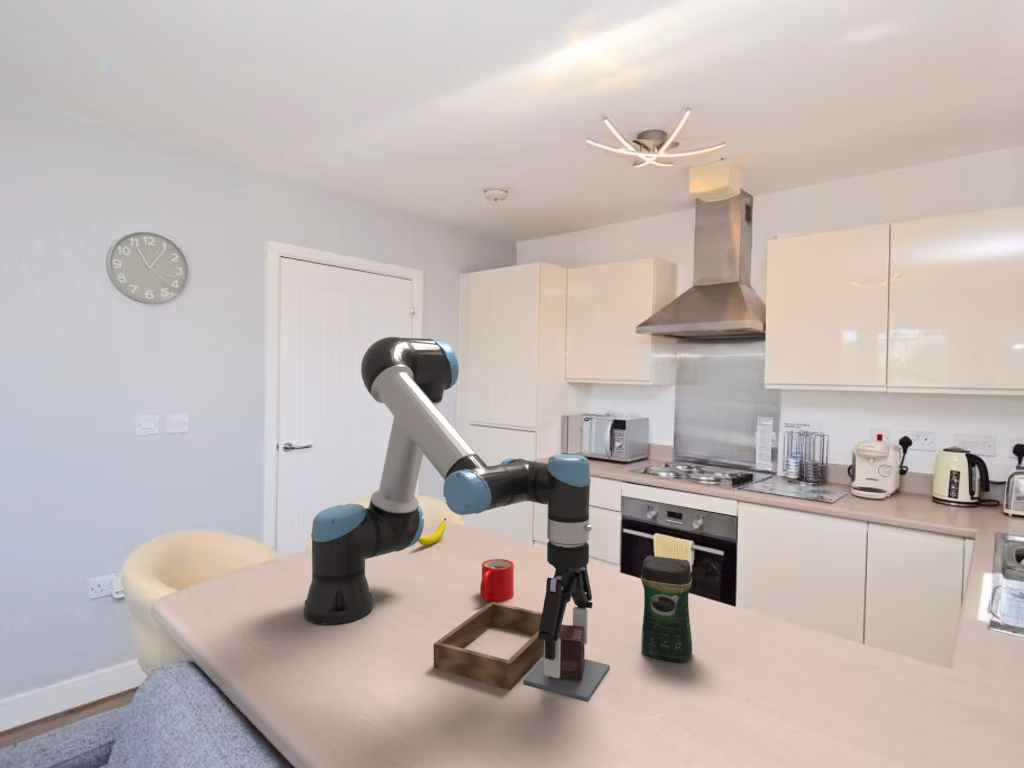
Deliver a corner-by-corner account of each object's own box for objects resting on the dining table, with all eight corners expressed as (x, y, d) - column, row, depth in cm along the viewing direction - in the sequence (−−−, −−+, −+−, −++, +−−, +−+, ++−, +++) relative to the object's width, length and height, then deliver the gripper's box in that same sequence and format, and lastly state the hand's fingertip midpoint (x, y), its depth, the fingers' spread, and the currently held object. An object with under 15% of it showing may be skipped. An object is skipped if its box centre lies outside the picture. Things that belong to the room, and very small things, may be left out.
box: (581, 682, 99) (581, 641, 99) (547, 678, 100) (547, 637, 100) (584, 665, 105) (585, 626, 105) (552, 661, 106) (552, 622, 106)
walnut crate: (433, 667, 105) (433, 643, 105) (491, 622, 125) (491, 601, 124) (510, 689, 98) (510, 664, 98) (559, 637, 117) (559, 616, 117)
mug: (468, 604, 134) (468, 571, 134) (490, 587, 145) (490, 557, 145) (498, 610, 131) (498, 576, 131) (518, 592, 142) (518, 561, 142)
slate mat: (523, 683, 100) (523, 679, 100) (550, 653, 111) (550, 650, 111) (587, 701, 94) (587, 697, 94) (609, 668, 105) (609, 665, 105)
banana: (411, 552, 173) (411, 532, 173) (441, 536, 191) (441, 517, 191) (419, 553, 172) (419, 533, 172) (449, 537, 190) (449, 518, 190)
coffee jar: (694, 648, 113) (694, 555, 113) (689, 667, 106) (690, 568, 105) (645, 639, 117) (645, 549, 117) (637, 656, 110) (638, 560, 109)
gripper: (561, 565, 89) (559, 698, 90) (609, 527, 112) (607, 634, 112) (518, 557, 93) (517, 686, 93) (573, 522, 115) (572, 626, 115)
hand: (566, 658), depth 103 cm, fingers open, 13 cm apart
